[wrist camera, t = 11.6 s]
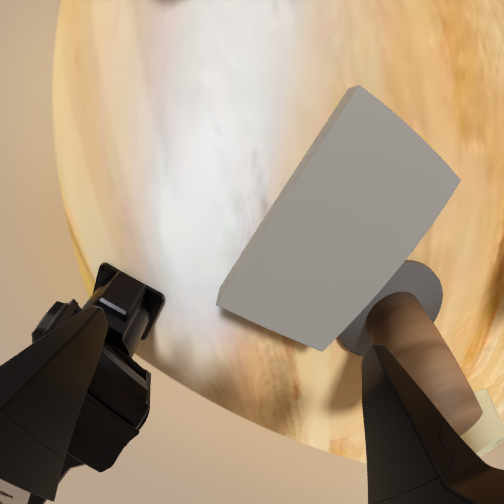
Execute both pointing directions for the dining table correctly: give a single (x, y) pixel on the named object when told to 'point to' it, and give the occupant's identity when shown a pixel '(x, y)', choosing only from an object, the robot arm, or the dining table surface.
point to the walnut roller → (424, 357)
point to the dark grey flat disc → (404, 280)
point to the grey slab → (340, 224)
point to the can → (485, 426)
